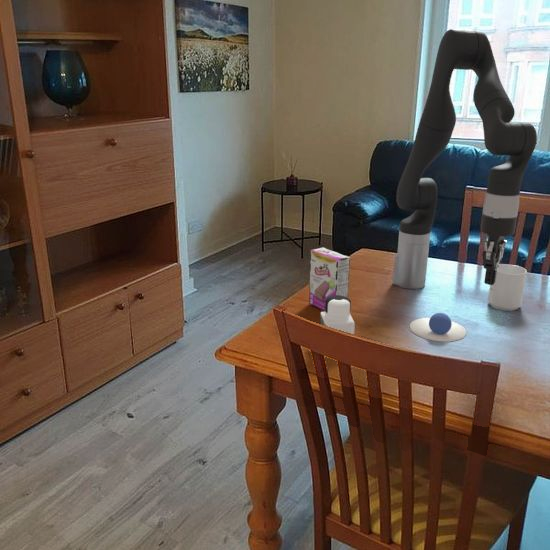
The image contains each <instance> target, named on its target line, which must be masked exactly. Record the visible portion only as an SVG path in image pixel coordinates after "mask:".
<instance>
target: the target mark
mask: <svg viewBox="0 0 550 550" xmlns="http://www.w3.org/2000/svg"><path fill="white" fill-rule="evenodd" d="M430 318H431V317H422V318H418V319H417V318H416V319H415V320H413V321H411V322H410V325H409V329H410V332H412V333H413V334H415V335H416V336H418V337H420V338H422V339H426V340H429V341H434V342H443V343H444V342H445V343H446V342H447V343H448V342H449V343H451V342H455V341H460V340H462V339H463V338H465V337H466V335H467V331H466V329H465V327H464V326H462V325H461V324H460V323H457V322H455V321H452V320H451V323H452V325H451V329H450V330H449V331H448V332H447V333H445V334H442V335H439V334H435V333H434V332H433V331H432V330H431V329H430V327H429V320H430Z"/></svg>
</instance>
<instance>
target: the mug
mask: <svg viewBox="0 0 550 550" xmlns="http://www.w3.org/2000/svg"><path fill="white" fill-rule="evenodd" d="M527 273H528V271H527V269H526V268H524V267H522V266H519V265H516V264H515V265H514V264H509V263H508V264H507V263H506V264H505V263H500V264H499V267H498V269H497V274H496V281H495V283H494V284H493V285H489V290H488V291H489V292H488V298H487V301H488V303H489V305H490V306H491V307H493V308H494V309H497V310H499V311H506V312H507V311H508V312H509V311H511V312H513V311H515V310H518V309H519V308H520V307H521V306H522V304H523V296H524V292H525V291H524V290H525V285H526V278H527Z"/></svg>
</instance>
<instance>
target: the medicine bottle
mask: <svg viewBox="0 0 550 550" xmlns="http://www.w3.org/2000/svg"><path fill="white" fill-rule="evenodd" d="M351 302H352V301H351V299H350V298H349V297H348V298H347V297H345V296H341V295H333V296H330V297H328V298H326V300H325V311H321V312H319V313H320V314H319V316H320V317H319V318H320V319H319V325H320V324H322V325H325V326H328V327H331V328H334V329H337V330H341V331H344V332H348V333H351V334H354V335H355V328H356V327H355V324H356V323H355V321H354V319H353V317H352V315H351V305H352V304H351Z"/></svg>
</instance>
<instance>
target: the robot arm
mask: <svg viewBox="0 0 550 550" xmlns="http://www.w3.org/2000/svg"><path fill="white" fill-rule="evenodd" d="M497 67H498V66H497V64H496V60H495V57H494V53H493V49H492V46H491V43H490V40H489V38H488V36H487V35H486V33H485V32H483V31H482V30H478V29H477V30H476V29H474V30H473V29H463V28H462V29H460V28H450V29H448V30H447V31H446V32H445V33H444V35H442V38H441V40H440V43H439V47H438V49H437V53H436V58H435V63H434V68H433V74H432V78H431V82H430V87H429V90H428V93H427V94H428V95H427V98H426V101H425V104H424V107H423V111H422V114H421V116H420V119H419V124H418V127H417V130H416V134H415V138H414V141H413V145H412V148H411V151H410V154H409V158H408V160H407V163H406V165H405V168H404V170H403V172H402V175H401V177H400V180H399V182H398V185H397V189H396V199H395V200H396V203H397V206H398V208H400V209H401V210H404V211H405V210H406V211H414V212H413V213H412V214H411V215H410V216H409V215H408V216H407V217H405V218H403V219H402V220H401V221H400V222H399V232H398V243H397V244H398V245H397V253H396V254H395V255H394V264H393V274H392V284H393V285H396V286H397V287H399V288H403V289H409V290H413V289H414V290H418V289H422V288H424V287H425V286H426V279H427V278H426V277H427V269H428V260H429V259H428V258H429V249H430V240H431V233H432V232H431V230H432V226H433V224H434V220H435V214H436V208H437V202H438V185H437V183H436V181H435V180H434V179H433V178H431V177H422V176H423V174H424V173H425V171H426V169H427V168H428V167H429V166H430V165H431V163H433V162H434V161H435V160H436V159H437V158H438V157H440V155H441V154H442V153H443V152H444V150H445V149H446V148H447V146H448V145H449V142H450V141H451V138H452V135H453V132H454V129H455V126H456V122H457V115H456V111H455V106H454V104H453V100H452V96H451V91H450V87H451V86H450V85H451V81H452V80H451V79H452V75H453V72H454V70H463V71H464V70H466V71H468V70H472V71H473V72H474V73H475V74H476V76H477V80H476V81H477V82H476V84H475V86H474V87H475V88H474V90H473V103H474V106H475V108H476V111H477V113H478V115H479V117H480V119H481V121H482V127H483V128H482V129H483V140H484V147H485V148H486V151H488V152H489V153H490V154H491V155H493V156H498V157H500V156H501V157H502V156H507V160H506V161H505V163H503V164H499V165H496V166H493V167H492V168H490V170H489V173H488V178H487V183H486V184H487V185H486V191H485V192H486V193H485V196H484V200H483V206H482V207H483V208H482V212H481V220H480V227H479V228H480V229H479V230H480V232H481V233H483V234H485V235H487V236H488V238H487V240H485V242H484V246H483V247H484V250H483V251H482V261H483V263H482V265H483V267H482V268H483V269H485V275H484V282H483V283H484V284H485V285H489V286H490V285H493V284H494V283H495V281H496V274H497V269H498V267H499V264H502V259H503V256H504V252H505V249H506V246H507V240H505V238H506V237H510V236H514V234H516V233H515V232H516V228H517V222H518V221H517V220H518V215H519V207H520V195H521V194H520V193H521V187H522V180H523V176H524V174H525V171H526V169H527V167H528V165H529V162H530V160H531V158H532V155H533V154H534V152H535V148H536V146H537V141H538V135H537V129H536V128H535V127H534V126H533V124H531V123H529V122H512V120H513V119H514V117H515V115H516V114H515V107H514V105H513V103H512V101H511V99H510V98H509V96H508V94H507V92H506V90H505V88H504V86H503V83H502V81H501V79H500V76H499V72H498V68H497Z"/></svg>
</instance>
